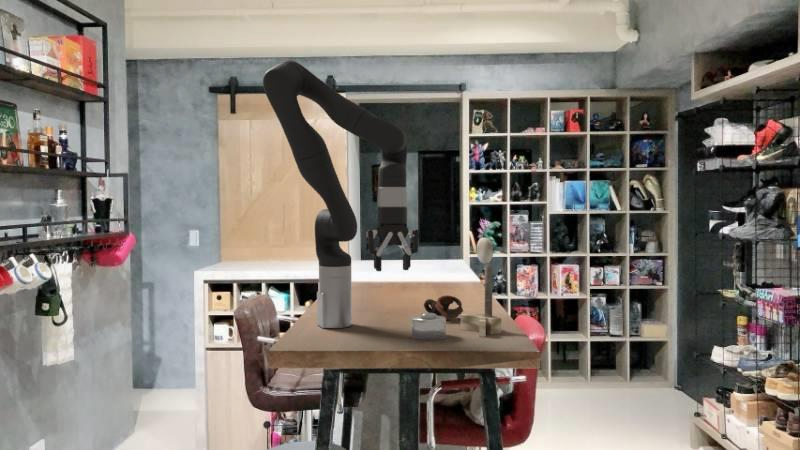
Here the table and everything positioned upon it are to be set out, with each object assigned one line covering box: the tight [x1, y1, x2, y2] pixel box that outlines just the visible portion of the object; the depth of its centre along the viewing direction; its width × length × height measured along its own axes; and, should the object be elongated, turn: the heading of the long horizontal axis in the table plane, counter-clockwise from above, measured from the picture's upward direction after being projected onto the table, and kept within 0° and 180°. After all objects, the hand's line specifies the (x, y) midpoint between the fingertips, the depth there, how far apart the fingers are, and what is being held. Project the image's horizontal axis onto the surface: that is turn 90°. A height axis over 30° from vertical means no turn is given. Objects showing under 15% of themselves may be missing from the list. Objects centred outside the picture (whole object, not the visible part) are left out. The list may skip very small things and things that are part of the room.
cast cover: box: [410, 312, 447, 341], centre depth 167 cm, size 9×9×6 cm
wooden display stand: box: [460, 237, 502, 337], centre depth 173 cm, size 7×12×26 cm, turn 23°
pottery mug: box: [423, 294, 464, 321], centre depth 191 cm, size 12×10×8 cm
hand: (392, 270), depth 163 cm, fingers open, 7 cm apart
